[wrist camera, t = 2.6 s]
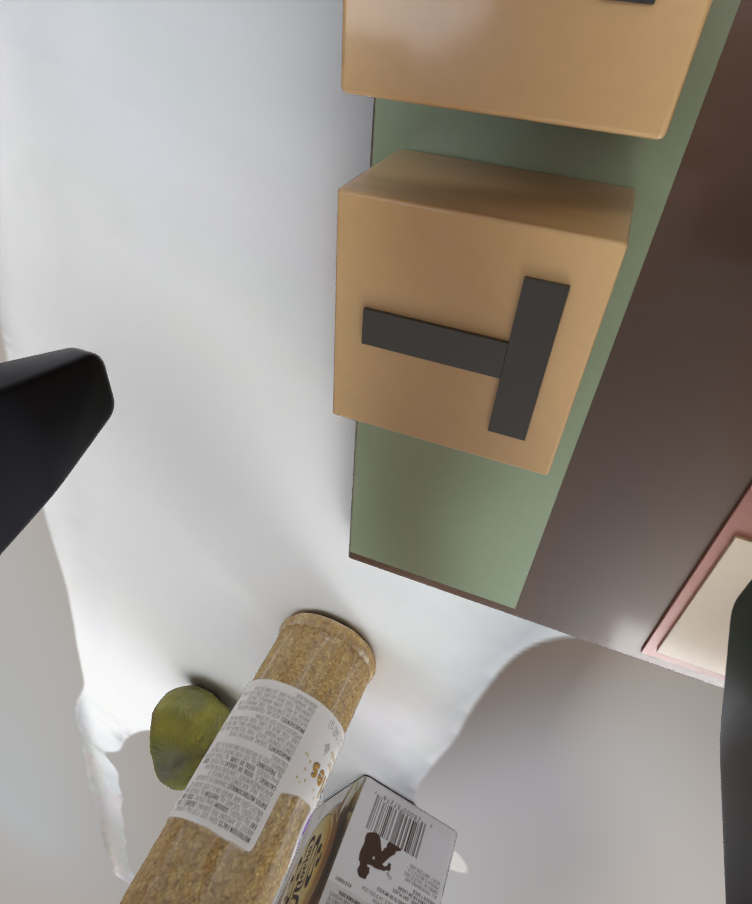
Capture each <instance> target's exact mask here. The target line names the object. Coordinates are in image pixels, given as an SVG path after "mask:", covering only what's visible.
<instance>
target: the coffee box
mask: <svg viewBox="0 0 752 904" xmlns="http://www.w3.org/2000/svg"><path fill="white" fill-rule="evenodd" d="M456 838H457V832H456V831H455V830H454V829H452V828H450V827H449V826H447V825H445V824H444V823H442V822H441V821H439V820H438V819H436V818H434V817H433V816H431V815H429V814H428V813H426V812H425V811H423V810H421V809H420V808H418V807H416V806H415V805H413V804H412V803H410V802H408V801H407V800H405V799H404V798H402V797H400V796H399V795H397V794H395V793H394V792H392V791H391V790H389V789H387V788H386V787H384V786H383V785H381V784H379V783H378V782H376V781H375V780H373V779H371V778H370V777H367V776H363V777H361V778H360V779H358V780H357V781H355V782H354V783H352V784H351V785H349V786H348V787H346V788H345V789H344V790H342V791H341V792H339V793H338V794H336V795H335V796H333V797H332V798H330V799H329V800H327V801H326V802H325V803H323V804H322V805H320V806H319V807H317V808H316V809H314V811H313V814H312V816H311V818H310V821H309V823H308V826H307V828H306V830H305V833H304V835H303V838H302V840H301V843H300V845H299V848H298V850H297V852H296V855H295V858H294V860H293V862H292V864H291V867H290V869H289V872H288V874H287V876H286V879H285V881H284V884H283V886H282V889H281V891H280V894H279V896H278V898H277V901H276V903H275V904H441V899H442V896H443V892H444V888H445V883H446V880H447V876H448V871H449V867H450V863H451V859H452V855H453V851H454V846H455V842H456Z"/></svg>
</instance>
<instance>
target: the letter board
mask: <svg viewBox="0 0 752 904" xmlns="http://www.w3.org/2000/svg"><path fill="white" fill-rule="evenodd" d="M399 149H405V150H411V151H417V152H423V153H429V154H435V155H441V156H447V157H452V158H458V159H464V160H470V161H476V162H482V163H488V164H494V165H500V166H505V167H511V168H517V169H523V170H529V171H535V172H541V173H547V174H553V175H558V176H564V177H570V178H576V179H582V180H588V181H594V182H600V183H606V184H612V185H617V186H623V187H629V188H634V189H635V191H636V193H635V200H634V207H633V213H632V220H631V227H630V234H629V240H628V247H627V250H626V253H625V256H624V258H623V261H622V264H621V267H620V270H619V273H618V276H617V279H616V281H615V284H614V287H613V290H612V293H611V296H610V299H609V302H608V305H607V307H606V310H605V313H604V316H603V319H602V322H601V325H600V328H599V330H598V333H597V336H596V339H595V342H594V345H593V348H592V351H591V354H590V356H589V359H588V362H587V365H586V368H585V371H584V374H583V377H582V379H581V382H580V385H579V388H578V391H577V394H576V397H575V400H574V402H573V405H572V408H571V411H570V414H569V417H568V420H567V423H566V426H565V428H564V431H563V434H562V437H561V440H560V443H559V446H558V449H557V451H556V454H555V457H554V460H553V463H552V466H551V469H550V472H549V473H548V474H547V475H543V474H539V473H536V472H533V471H529V470H526V469H522V468H519V467H515V466H512V465H508V464H505V463H501V462H498V461H495V460H491V459H488V458H484V457H481V456H477V455H474V454H470V453H467V452H464V451H460V450H457V449H453V448H450V447H446V446H443V445H439V444H436V443H432V442H429V441H426V440H422V439H419V438H415V437H412V436H408V435H405V434H401V433H398V432H395V431H391V430H388V429H384V428H381V427H377V426H374V425H370V424H367V423H363V422H360V421H357V420H356V433H355V451H354V469H353V487H352V506H351V524H350V542H349V557H350V558H352V559H354V560H357V561H360V562H363V563H366V564H369V565H372V566H374V567H377V568H380V569H383V570H386V571H389V572H392V573H394V574H397V575H400V576H403V577H406V578H409V579H412V580H414V581H417V582H420V583H423V584H426V585H429V586H432V587H434V588H437V589H440V590H443V591H446V592H449V593H452V594H454V595H457V596H460V597H463V598H466V599H469V600H472V601H474V602H477V603H480V604H483V605H486V606H489V607H492V608H494V609H497V610H500V611H503V612H506V613H509V614H512V615H514V616H517V617H520V618H523V619H526V620H529V621H532V622H534V623H537V624H540V625H543V626H546V627H549V628H552V629H554V630H557V631H560V632H563V633H566V634H569V635H572V636H574V637H577V638H580V639H583V640H586V641H589V642H592V643H594V644H597V645H600V646H603V647H606V648H609V649H612V650H615V651H617V652H620V653H623V654H626V655H629V656H632V657H635V658H638V659H640V660H643V661H646V662H649V663H652V664H654V665H657V666H660V667H663V668H666V669H669V670H672V671H675V672H678V673H681V674H683V675H686V676H689V677H692V678H695V679H697V680H700V681H703V682H706V683H709V684H712V685H715V686H717V687H720V688H723V689H724V683H725V672H726V661H727V650H728V639H729V628H730V618H731V612H732V608H733V606H734V603H735V601H736V599H737V598H738V596H739V595H740V594H741V592H742V591H743V590H744V588H745V587H746V586H747V584H748V583H749V582H750V581H751V579H752V0H713V1H712V4H711V7H710V10H709V13H708V16H707V19H706V22H705V25H704V27H703V30H702V33H701V36H700V39H699V42H698V45H697V48H696V50H695V53H694V56H693V59H692V62H691V65H690V68H689V71H688V74H687V76H686V79H685V82H684V85H683V88H682V91H681V94H680V97H679V99H678V102H677V105H676V108H675V111H674V114H673V117H672V120H671V123H670V125H669V128H668V131H667V133H666V135H665V136H664V137H663V138H662V139H658V140H654V139H647V138H641V137H634V136H627V135H621V134H614V133H607V132H601V131H594V130H587V129H581V128H574V127H567V126H561V125H554V124H547V123H540V122H534V121H527V120H520V119H514V118H507V117H500V116H494V115H487V114H480V113H474V112H467V111H460V110H454V109H447V108H440V107H434V106H427V105H420V104H414V103H407V102H400V101H394V100H387V99H380V98H374V105H373V123H372V141H371V159H370V168H371V167H373V166H374V165H376V164H377V163H379V162H380V161H382V160H383V159H385V158H386V157H388V156H390V155H391V154H393V153H394V152H396V151H397V150H399Z"/></svg>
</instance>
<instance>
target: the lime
mask: <svg viewBox="0 0 752 904" xmlns="http://www.w3.org/2000/svg"><path fill="white" fill-rule="evenodd" d="M230 713H231V711H230V710H229V708H228V707H227V706H226V705H225V704H224V703H223V702H221V701H220V700H219V699H218V698H217V697H216V696H215V695H214V694H213V693H211V692H210V691H208V690H206V689H204V688H202V687H198V686H192V685H191V686H183V687H179V688H176V689H173V690H171V691H169V692H168V693H166V694H165V696H164V697H163V698H162V699H161V700H160V702H159V703H158V704H157V706H156V707H155V709H154V711H153V713H152V721H151V727H150V728H151V730H150V753H151V755H152V759H153V764H154V769H155V772H156V775H157V777H158V778H159V780H160V781H161V782H162V783H163V784H165V785H166V786H168V787H169V788H171V789H173V790H185V788H186V786H187V785H188V783H189V781H190V780H191V778H192V776H193V775H194V773H195V771H196V769H197V768H198V766H199V764H200V763H201V761H202V759H203V758H204V756H205V754H206V753H207V751H208V749H209V748H210V746H211V744H212V743H213V741H214V739H215V738H216V736H217V734H218V733H219V731H220V729H221V728H222V726H223V724H224V723H225V721H226V720H227V718H228V716H229V715H230Z"/></svg>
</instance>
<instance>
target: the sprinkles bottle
mask: <svg viewBox="0 0 752 904" xmlns="http://www.w3.org/2000/svg"><path fill="white" fill-rule="evenodd" d="M375 668H376V662H375V657H374V655H373V653H372V650H371V648H370V647H369V646H368V644H367V643H366V642H365V641H364V640H363V639H362V638H361V637H360V636H359V635H358V634H357V633H356V632H355V631H353V630H352V629H350V628H348V627H346V626H344V625H343V624H341V623H339V622H337V621H335V620H333V619H330V618H327V617H324V616H321V615H318V614H313V613H298V614H295V615H292V616H291V617H289V618H287V619H286V620H285V621H284V622H283V624H282V625H281V627H280V630H279V635H278V638H277V640H276V642H275V643H274V645H273V647H272V649H271V650H270V652H269V654H268V655H267V657H266V659H265V660H264V662H263V663H262V665H261V666H260V668H259V670H258V672H257V673H256V676H255V678H254V679H253V681H251V682H250V683H249V684H248V685H247V687H246V688H245V690H244V692H243V693H242V695H241V696H240V698H239V700H238V701H237V703H236V705H235V706H234V708H233V710H232V711H231V713H230V715H229V716H228V718H227V720H226V721H225V723H224V724H223V726H222V728H221V729H220V731H219V733H218V734H217V736H216V738H215V739H214V741H213V743H212V744H211V746H210V748H209V749H208V751H207V753H206V754H205V756H204V758H203V759H202V761H201V763H200V764H199V766H198V768H197V769H196V771H195V773H194V775H193V776H192V778H191V780H190V781H189V783H188V785H187V786H186V788H185V790H184V792H183V793H182V795H181V797H180V798H179V800H178V801H177V803H176V805H175V806H174V808H173V810H172V812H171V813H170V815H169V817H168V819H167V822H166V825H165V827H164V828H163V830H162V832H161V833H160V835H159V837H158V839H157V840H156V842H155V843H154V845H153V847H152V849H151V850H150V852H149V854H148V857H147V858H146V859H145V861H144V862H143V864H142V866H141V868H140V869H139V871H138V872H137V874H136V876H135V877H134V879H133V881H132V882H131V884H130V886H129V888H128V889H127V891H126V893H125V895H124V897H123V899H122V901H121V902H120V904H272V902H273V899H274V897H275V895H276V892H277V890H278V888H279V886H280V883H281V881H282V878H283V876H284V874H285V872H286V871H287V870H288V867H289V866H290V863H291V861H292V859H293V857H294V855H295V852H296V850H297V848H298V845H299V843H300V841H301V838H302V836H303V834H304V832H305V830H306V827H307V825H308V823H309V820H310V818H311V816H312V814H313V811H314V809H315V807H316V804H317V802H318V800H319V798H320V795H321V793H322V790H323V788H324V785H325V783H326V781H327V779H328V776H329V774H330V772H331V770H332V767H333V765H334V763H335V760H336V758H337V756H338V753H339V751H340V749H341V747H342V744H343V742H344V734H345V732H346V731H347V728H348V726H349V724H350V721H351V719H352V718H353V716H354V713H355V709H356V708H357V706H358V703H359V701H360V699H361V696H362V694H363V692H364V690H365V687H366V685H367V684H368V683H369V682H370V681H371V680H372V678H373V676H374V674H375Z"/></svg>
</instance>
